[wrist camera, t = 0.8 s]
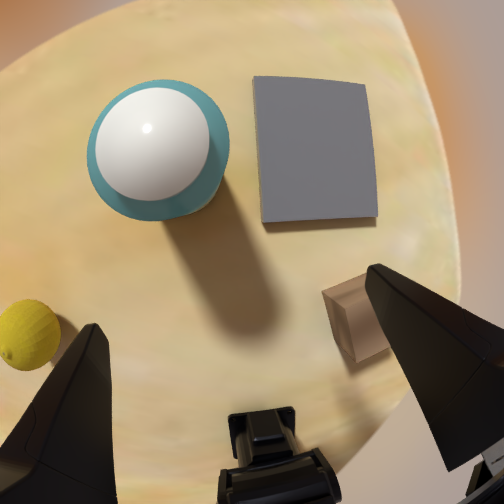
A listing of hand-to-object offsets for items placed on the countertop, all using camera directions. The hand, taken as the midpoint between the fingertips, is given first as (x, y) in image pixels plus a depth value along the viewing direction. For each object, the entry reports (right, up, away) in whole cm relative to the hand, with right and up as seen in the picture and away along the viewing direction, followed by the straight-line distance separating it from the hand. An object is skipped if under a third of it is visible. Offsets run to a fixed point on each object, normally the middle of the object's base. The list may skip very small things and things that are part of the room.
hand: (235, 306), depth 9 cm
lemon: (-18, -4, +14) cm, 23 cm away
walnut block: (+10, -3, +17) cm, 20 cm away
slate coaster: (+6, +10, +15) cm, 19 cm away
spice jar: (-5, +8, +14) cm, 16 cm away
